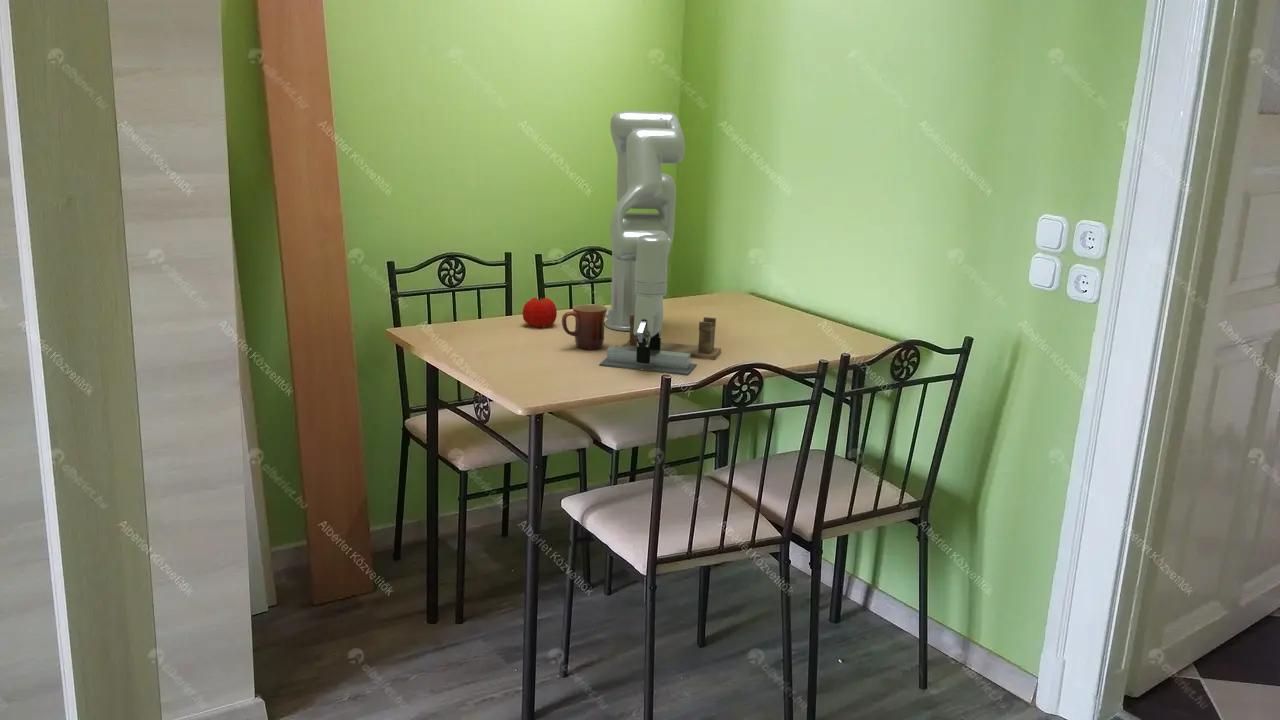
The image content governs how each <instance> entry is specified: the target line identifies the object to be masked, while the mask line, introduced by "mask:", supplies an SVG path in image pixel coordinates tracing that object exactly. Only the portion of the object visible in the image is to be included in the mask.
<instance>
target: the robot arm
mask: <svg viewBox="0 0 1280 720" xmlns="http://www.w3.org/2000/svg"><path fill="white" fill-rule="evenodd" d="M609 124H610V125H609V126H610V133H611V134H610V135H611V139H612V141H613V145H614V148H615V151H616V157H617V165H616V166H617V169H616V171H617V172H616V200H617V203H616V206H614V207H615V208H614V209H613V212H612V215H611V219H610V222H609V234H610V243H611V254H612V255H611V262H612V263H611V264H612V265H611V267H612V268H611V269H612V270H611V304H610V305H611V306H610V308H607V312H606V315H605V318H606V320H604V326H606V327H607V328H608V329H611V330H615V331H621V332H623V331H624V332H630V315H635V316H634V330H633V334H634V335H635V336H638V338H637V357H636V361H637V362H638V363H647V364H648V363H650V349H651V350H660V345H661V342H662V341H661V339H662V338H661V336H662V335H661V334H662V332H661V330H662V328H663V322H664V321H663V320H664V297H665V296H666V295H667V289H668V288H667V285H668V259H669V258H668V256H669V255H670V253H671V247H672V243H673V240H674V234H675V223H676V222H675V221H676V220H675V219H676V201H677V198H676V197H677V188H676V182H675V180H674V178H673V177H672V176H671V175H670V174H668V173H662V164H680V163H681V162H682V161H683V160H684V157H685V152H686V142H685V135H684V131H683V129H682V126H681V123H680V120H679V117H678V116H677V115H676V113H673V112H669V111H668V112H667V111H648V110H647V111H645V110H644V111H643V110H624V111H618V112H616V113H614V114H613V115H612V116H611V119H610V123H609ZM631 209H633V210H635V209H637V210H656V211H657V212H628V211H629V210H631ZM644 333H646V334H644ZM645 338H646V339H645Z"/></svg>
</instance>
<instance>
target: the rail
mask: <svg viewBox="0 0 1280 720" xmlns="http://www.w3.org/2000/svg"><path fill="white" fill-rule="evenodd" d="M622 346H623V345H620V346H619V345H613V344H612V345H609V347H607V349H606V351H607V352H606V358H607V361H610V362H619V363H628V364H637V365H646V366H655V367H665V368H674V369H683V370H687V369H688V368H689V367H690V363H691V357H690V356H691V354H689V353H679V352H670V351H660V350H651V349H650V363H648V364H647V363H638V362H637V361H636V357H637V348H632V347H622Z"/></svg>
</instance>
